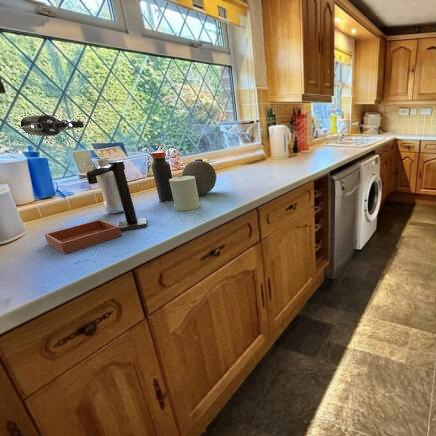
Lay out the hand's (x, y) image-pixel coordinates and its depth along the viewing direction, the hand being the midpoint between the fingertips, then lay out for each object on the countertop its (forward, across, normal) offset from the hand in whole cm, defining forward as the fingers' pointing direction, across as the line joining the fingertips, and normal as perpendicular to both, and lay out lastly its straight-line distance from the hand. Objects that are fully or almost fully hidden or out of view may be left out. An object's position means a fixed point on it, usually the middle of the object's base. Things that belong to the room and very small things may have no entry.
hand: (71, 124), depth 107 cm
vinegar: (+15, +20, +32) cm, 41 cm away
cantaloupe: (+25, +30, +32) cm, 50 cm away
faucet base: (+31, -9, +32) cm, 45 cm away
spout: (+34, -14, +14) cm, 39 cm away
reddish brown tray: (+27, -22, +32) cm, 47 cm away
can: (+33, +13, +32) cm, 48 cm away
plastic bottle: (+11, 0, +32) cm, 34 cm away
